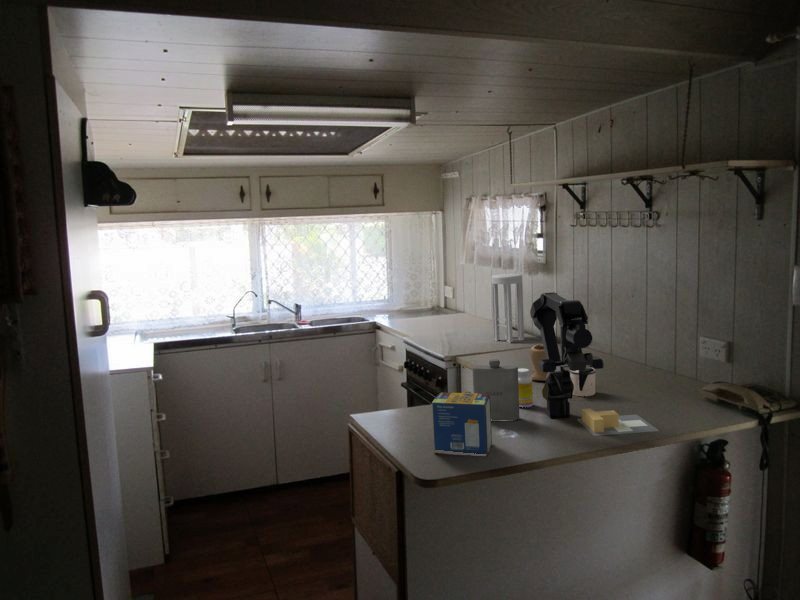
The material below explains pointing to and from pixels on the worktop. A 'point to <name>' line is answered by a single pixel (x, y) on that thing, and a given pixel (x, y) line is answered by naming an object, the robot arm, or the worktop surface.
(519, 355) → the worktop surface
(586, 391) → the teacup with lid
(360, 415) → the worktop surface
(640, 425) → the mat
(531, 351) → the stone cup
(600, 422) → the t block
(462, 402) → the protein box
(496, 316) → the stool
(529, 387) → the supplement bottle
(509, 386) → the flask
